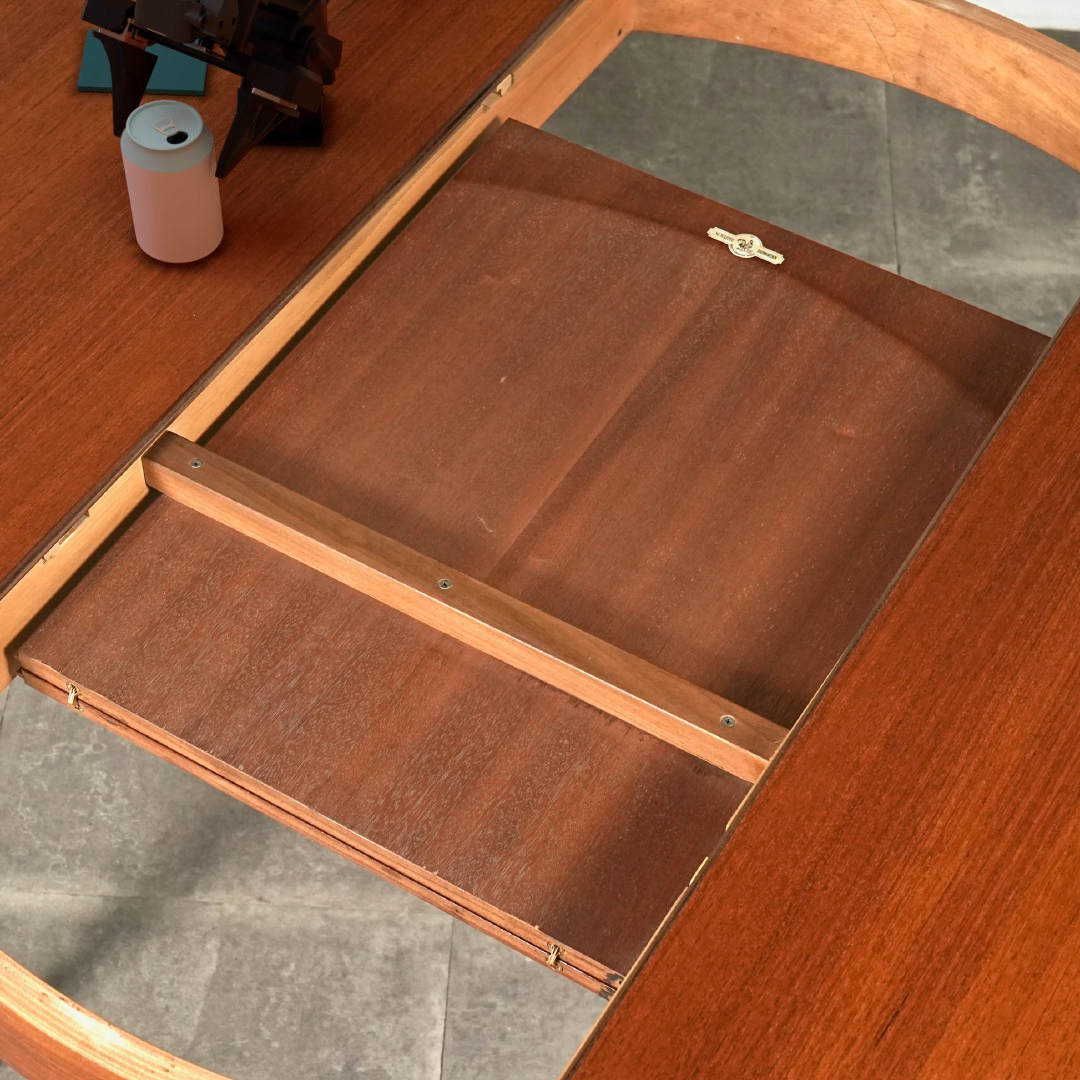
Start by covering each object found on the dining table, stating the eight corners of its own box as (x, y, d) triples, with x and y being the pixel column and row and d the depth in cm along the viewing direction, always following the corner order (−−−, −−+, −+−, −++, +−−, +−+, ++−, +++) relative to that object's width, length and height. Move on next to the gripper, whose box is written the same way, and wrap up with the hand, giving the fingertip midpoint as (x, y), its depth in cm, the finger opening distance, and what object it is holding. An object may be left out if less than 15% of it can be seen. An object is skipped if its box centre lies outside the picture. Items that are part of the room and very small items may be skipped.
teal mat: (211, 39, 146) (210, 33, 146) (204, 95, 142) (203, 90, 141) (88, 34, 145) (87, 28, 145) (77, 91, 141) (76, 85, 140)
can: (234, 216, 133) (222, 101, 123) (210, 275, 129) (196, 161, 119) (151, 202, 133) (133, 86, 124) (125, 260, 129) (104, 145, 119)
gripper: (74, -109, 115) (9, 99, 118) (298, -25, 112) (225, 187, 114) (149, -68, 126) (88, 122, 129) (355, 10, 122) (288, 204, 125)
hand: (168, 157), depth 124 cm, fingers open, 9 cm apart
